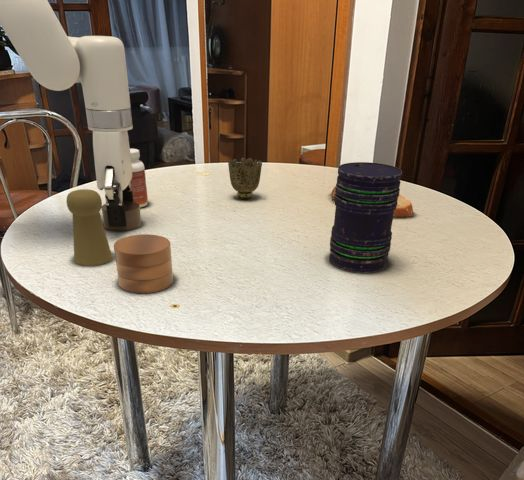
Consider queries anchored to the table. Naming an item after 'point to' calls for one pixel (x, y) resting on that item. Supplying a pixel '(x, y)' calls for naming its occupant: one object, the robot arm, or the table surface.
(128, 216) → the walnut chip
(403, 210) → the bread slice
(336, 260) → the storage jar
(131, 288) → the pile chip
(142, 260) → the pile chip
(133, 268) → the pile chip
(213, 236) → the table surface
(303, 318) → the table surface
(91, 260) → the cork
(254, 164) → the cup
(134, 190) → the pill bottle
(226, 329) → the table surface
